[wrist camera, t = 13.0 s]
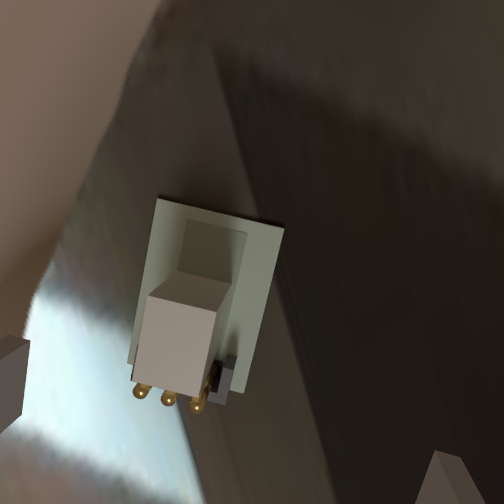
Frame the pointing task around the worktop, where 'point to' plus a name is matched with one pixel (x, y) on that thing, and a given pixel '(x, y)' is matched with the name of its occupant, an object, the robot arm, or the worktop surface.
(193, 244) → the board
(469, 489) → the robot arm
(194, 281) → the plug housing
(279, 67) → the worktop surface
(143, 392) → the header pins
